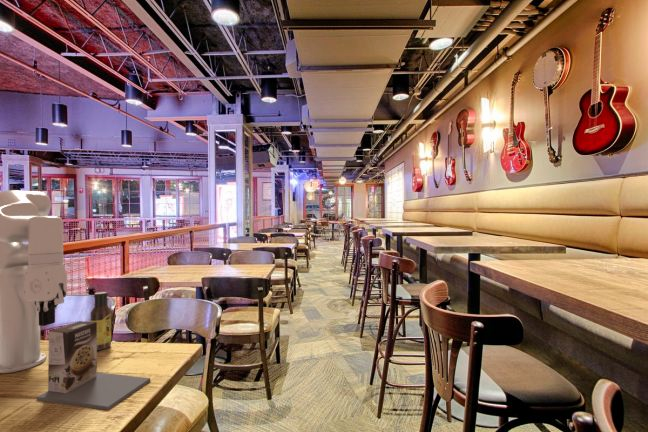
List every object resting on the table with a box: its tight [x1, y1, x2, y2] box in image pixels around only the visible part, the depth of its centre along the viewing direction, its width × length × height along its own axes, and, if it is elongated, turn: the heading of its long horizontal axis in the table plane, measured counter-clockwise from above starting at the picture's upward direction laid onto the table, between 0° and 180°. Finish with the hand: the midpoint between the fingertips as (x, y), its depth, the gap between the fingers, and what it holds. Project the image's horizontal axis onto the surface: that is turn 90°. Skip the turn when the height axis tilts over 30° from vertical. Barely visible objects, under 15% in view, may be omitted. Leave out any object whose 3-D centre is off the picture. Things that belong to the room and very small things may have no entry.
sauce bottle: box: [89, 291, 112, 351], centre depth 115 cm, size 6×6×20 cm
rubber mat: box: [36, 372, 151, 411], centre depth 87 cm, size 22×14×1 cm, turn 78°
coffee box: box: [47, 321, 98, 393], centre depth 89 cm, size 9×6×16 cm
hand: (47, 324), depth 90 cm, fingers closed
